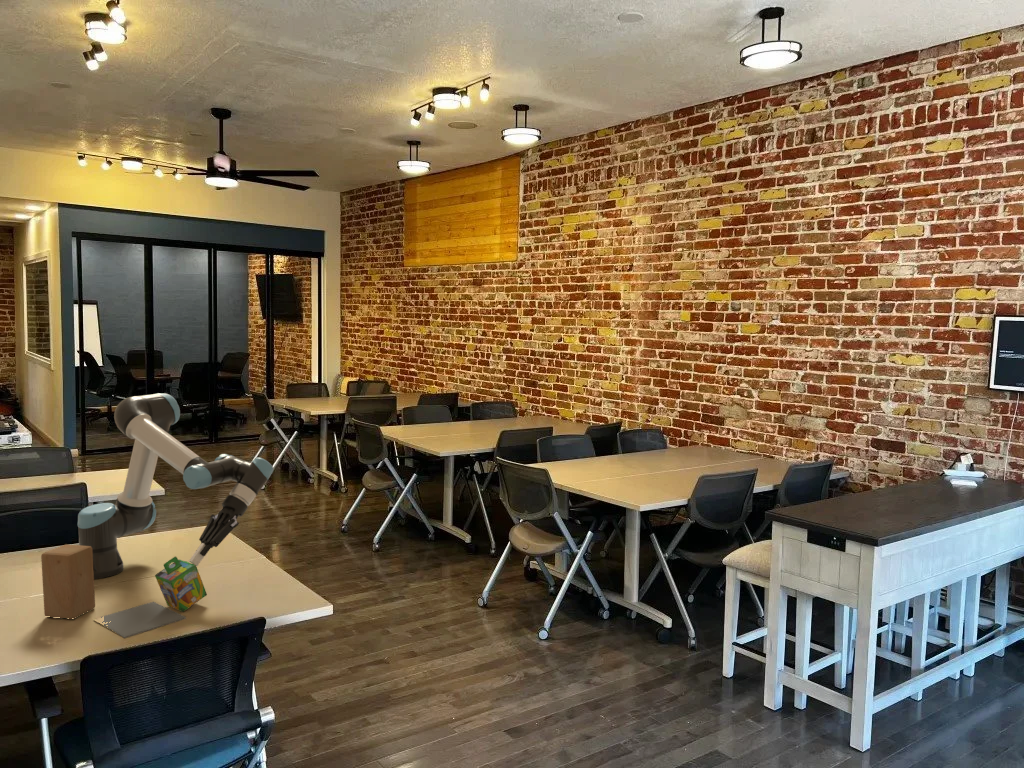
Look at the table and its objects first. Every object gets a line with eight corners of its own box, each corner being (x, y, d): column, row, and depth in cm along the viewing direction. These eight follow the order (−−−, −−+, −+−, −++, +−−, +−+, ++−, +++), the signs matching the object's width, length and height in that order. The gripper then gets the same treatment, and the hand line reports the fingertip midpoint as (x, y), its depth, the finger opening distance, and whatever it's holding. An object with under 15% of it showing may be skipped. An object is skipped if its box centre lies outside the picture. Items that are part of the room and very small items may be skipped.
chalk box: (183, 613, 232) (166, 573, 227) (166, 605, 238) (149, 566, 232) (208, 594, 239) (193, 555, 234) (191, 587, 244) (175, 549, 239)
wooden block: (72, 621, 226) (68, 555, 224) (43, 618, 228) (39, 553, 226) (96, 608, 236) (93, 545, 234) (68, 606, 238) (65, 543, 236)
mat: (93, 620, 227) (93, 619, 227) (153, 602, 241) (153, 601, 240) (124, 638, 214) (124, 636, 214) (186, 618, 228) (186, 617, 228)
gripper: (257, 509, 248) (212, 573, 236) (234, 505, 256) (190, 566, 244) (242, 496, 244) (196, 560, 231) (219, 492, 251) (173, 554, 239)
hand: (193, 563), depth 237 cm, fingers closed
